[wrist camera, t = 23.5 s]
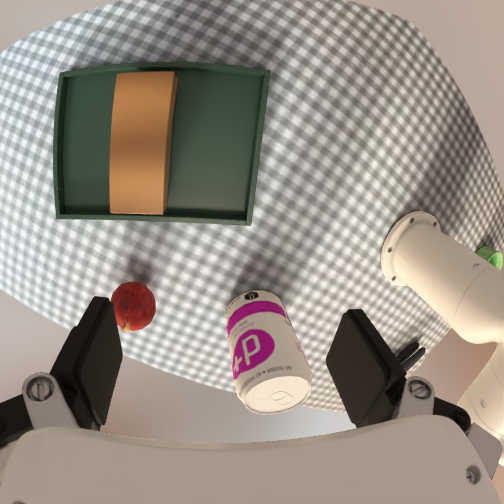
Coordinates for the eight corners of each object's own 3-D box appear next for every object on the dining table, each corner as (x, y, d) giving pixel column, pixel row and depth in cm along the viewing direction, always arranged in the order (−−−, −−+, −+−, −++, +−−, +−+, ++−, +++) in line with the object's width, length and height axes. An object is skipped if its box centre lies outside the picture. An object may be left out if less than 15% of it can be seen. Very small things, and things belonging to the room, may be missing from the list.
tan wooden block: (133, 82, 23) (116, 73, 18) (180, 82, 24) (174, 71, 19) (126, 197, 29) (110, 213, 23) (170, 198, 30) (163, 214, 24)
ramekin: (494, 244, 44) (507, 252, 40) (480, 280, 47) (492, 289, 43) (476, 241, 42) (490, 250, 38) (461, 281, 45) (474, 291, 42)
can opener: (351, 390, 53) (361, 408, 48) (345, 375, 50) (356, 396, 45) (418, 349, 52) (431, 365, 47) (418, 331, 49) (432, 348, 44)
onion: (116, 268, 33) (98, 304, 26) (159, 272, 34) (149, 310, 27) (119, 305, 35) (105, 344, 28) (159, 309, 36) (152, 349, 29)
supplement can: (212, 310, 38) (221, 399, 24) (261, 276, 37) (292, 359, 23) (248, 341, 41) (267, 424, 28) (293, 312, 40) (328, 391, 27)
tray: (266, 74, 26) (270, 70, 24) (248, 219, 33) (251, 225, 31) (68, 75, 22) (59, 72, 20) (64, 213, 29) (56, 219, 26)
